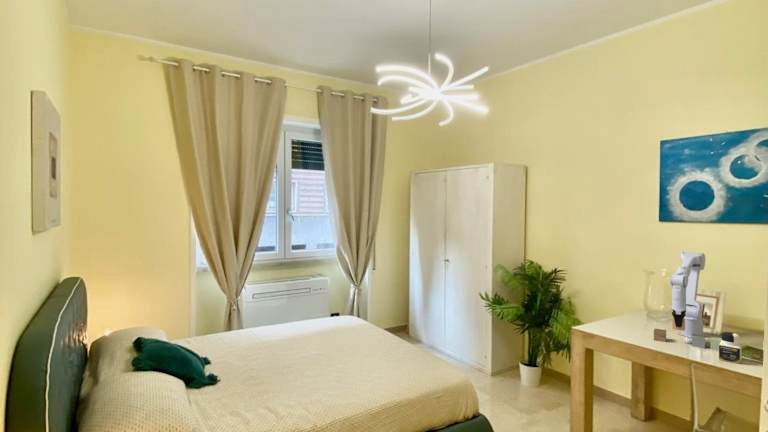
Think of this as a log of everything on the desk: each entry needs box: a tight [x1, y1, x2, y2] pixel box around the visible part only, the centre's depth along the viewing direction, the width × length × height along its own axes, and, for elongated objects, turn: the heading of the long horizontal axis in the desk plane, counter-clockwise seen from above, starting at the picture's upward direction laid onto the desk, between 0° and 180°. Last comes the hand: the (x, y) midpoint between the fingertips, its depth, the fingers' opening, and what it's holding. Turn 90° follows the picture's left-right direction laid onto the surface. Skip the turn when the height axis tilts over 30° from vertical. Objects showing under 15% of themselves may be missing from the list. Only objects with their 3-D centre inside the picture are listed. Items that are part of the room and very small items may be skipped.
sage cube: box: [709, 336, 722, 352], centre depth 196 cm, size 5×5×5 cm
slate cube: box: [691, 334, 706, 349], centre depth 201 cm, size 5×5×5 cm
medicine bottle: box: [718, 331, 743, 365], centre depth 182 cm, size 7×7×12 cm
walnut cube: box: [653, 328, 667, 343], centre depth 210 cm, size 5×5×5 cm
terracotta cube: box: [671, 316, 685, 331], centre depth 205 cm, size 5×5×5 cm
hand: (678, 325), depth 205 cm, fingers closed on terracotta cube, 5 cm apart
